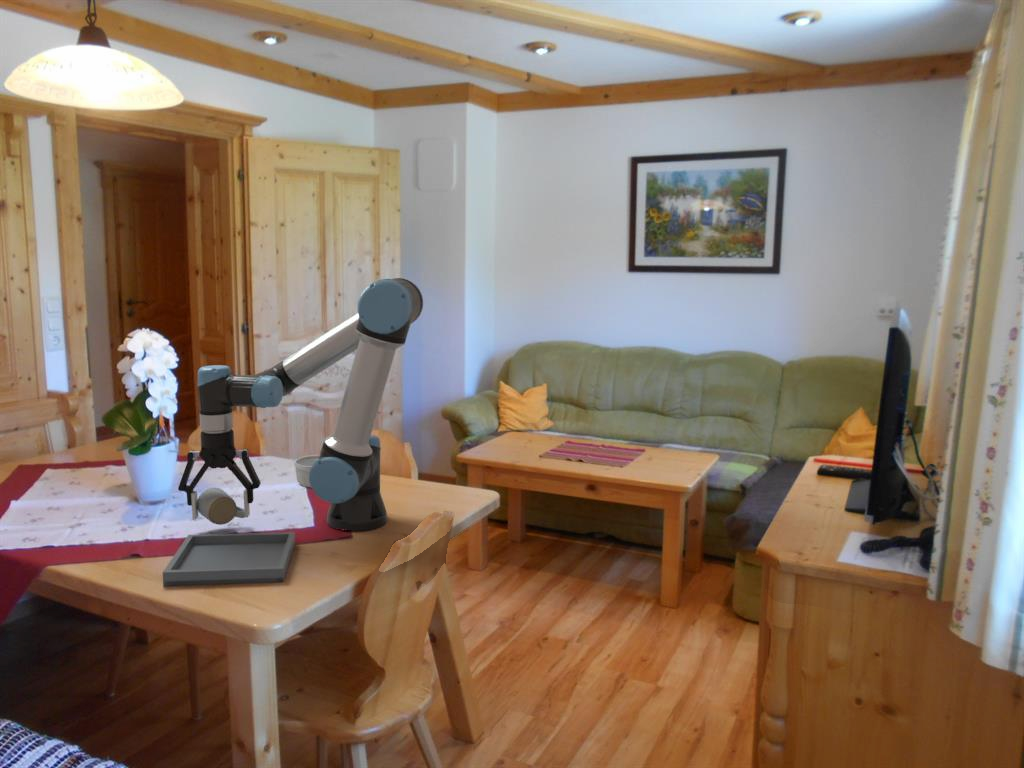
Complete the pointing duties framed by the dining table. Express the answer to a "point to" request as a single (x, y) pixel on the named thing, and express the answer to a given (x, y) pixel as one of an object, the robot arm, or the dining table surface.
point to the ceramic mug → (218, 506)
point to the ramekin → (304, 469)
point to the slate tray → (230, 559)
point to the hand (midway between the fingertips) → (221, 516)
